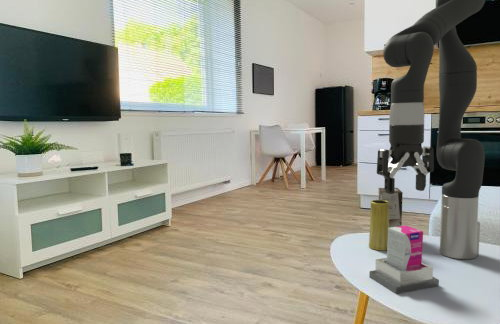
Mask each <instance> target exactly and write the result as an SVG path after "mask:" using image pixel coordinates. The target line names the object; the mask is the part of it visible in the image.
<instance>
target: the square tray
mask: <svg viewBox="0 0 500 324" xmlns="http://www.w3.org/2000/svg"><path fill="white" fill-rule="evenodd" d="M433 269H434V267H433V266H430V265H428V264H426V263H424V262H422V265H421V268H417V269H411V270H405V271H400V270H398V269H396V268H394V267H392V266H390V265H389V264H387V257H383V258H377V259H375V270H369V274H368V275H369V278H371V279H372V280H374V281H375V282H377V283H378V284H380V285H381V286H383V287H384V288H386V289H387V290H389V291H390V292H392V293H394V294H395V295H397V294H402V293H409V292H413V291H419V290H423V289H429V288H433V287H434V288H435V287H439V285H440V282H439V281H440V280H439V279H438V278H437V277H434V276H433V275H434V270H433Z"/></svg>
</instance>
